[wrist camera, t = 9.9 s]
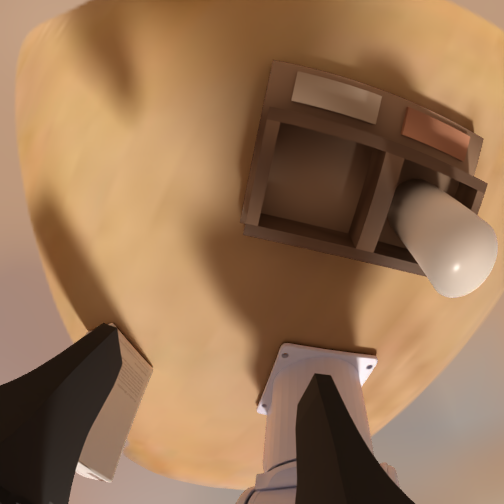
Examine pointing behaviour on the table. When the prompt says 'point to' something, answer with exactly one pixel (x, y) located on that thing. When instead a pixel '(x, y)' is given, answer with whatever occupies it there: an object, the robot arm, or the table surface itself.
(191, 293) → the table surface
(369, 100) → the socket board
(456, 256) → the plug
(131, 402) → the skincare box
